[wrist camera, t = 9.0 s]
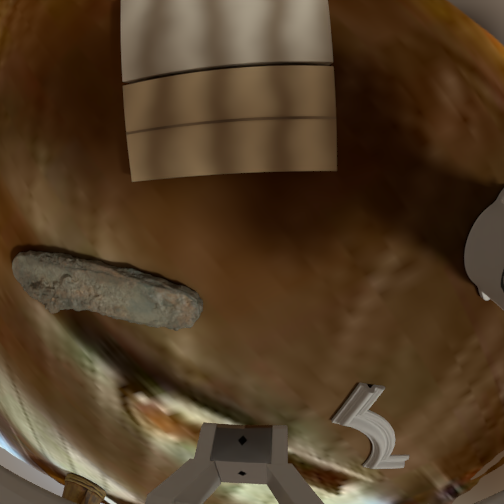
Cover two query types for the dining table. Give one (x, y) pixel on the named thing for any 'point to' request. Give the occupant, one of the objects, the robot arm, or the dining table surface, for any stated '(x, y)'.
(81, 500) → the tankard
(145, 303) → the long grey stone
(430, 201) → the dining table surface
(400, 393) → the dining table surface
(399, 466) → the molding
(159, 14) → the birch plank
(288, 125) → the oak board
